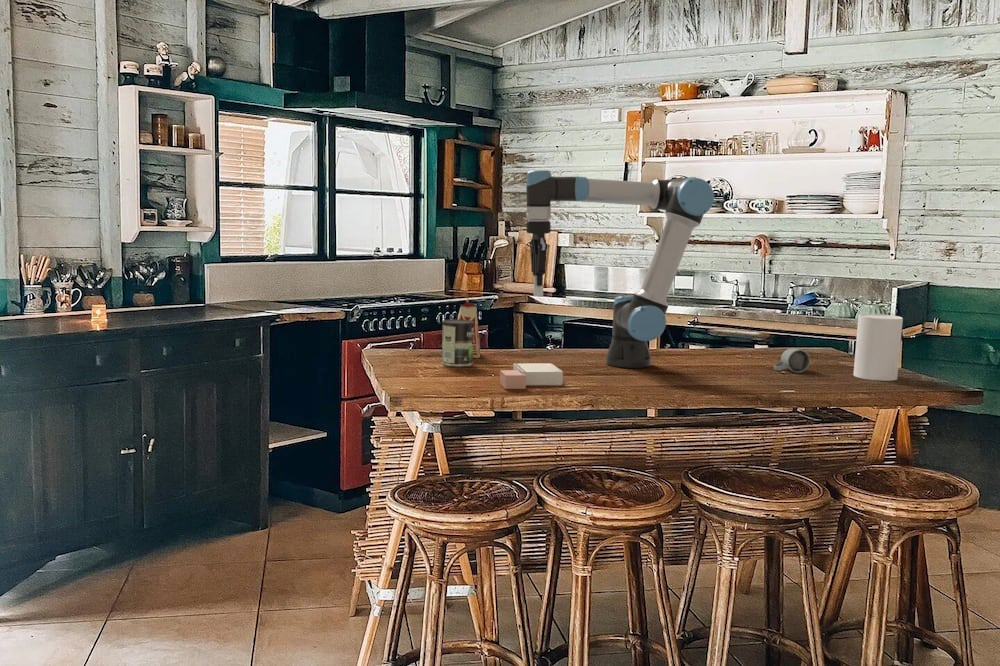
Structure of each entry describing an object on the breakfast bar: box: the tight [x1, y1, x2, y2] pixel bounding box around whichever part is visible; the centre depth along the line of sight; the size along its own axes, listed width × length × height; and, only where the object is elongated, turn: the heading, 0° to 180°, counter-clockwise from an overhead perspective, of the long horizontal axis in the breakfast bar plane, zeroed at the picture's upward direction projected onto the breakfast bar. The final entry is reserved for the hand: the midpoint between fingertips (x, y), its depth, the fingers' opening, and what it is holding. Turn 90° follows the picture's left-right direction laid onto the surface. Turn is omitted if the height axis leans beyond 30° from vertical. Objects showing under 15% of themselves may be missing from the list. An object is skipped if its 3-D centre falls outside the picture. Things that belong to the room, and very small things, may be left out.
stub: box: [499, 369, 527, 390], centre depth 287 cm, size 6×8×4 cm
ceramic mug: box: [773, 347, 811, 374], centre depth 329 cm, size 11×8×8 cm
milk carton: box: [457, 298, 481, 359], centre depth 338 cm, size 9×9×20 cm
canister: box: [853, 313, 904, 382], centre depth 322 cm, size 14×14×20 cm
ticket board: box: [512, 362, 564, 386], centre depth 297 cm, size 12×14×4 cm
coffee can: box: [441, 318, 474, 367], centre depth 321 cm, size 10×10×14 cm
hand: (538, 295), depth 309 cm, fingers closed
